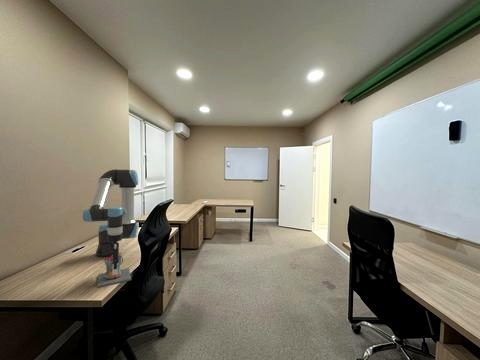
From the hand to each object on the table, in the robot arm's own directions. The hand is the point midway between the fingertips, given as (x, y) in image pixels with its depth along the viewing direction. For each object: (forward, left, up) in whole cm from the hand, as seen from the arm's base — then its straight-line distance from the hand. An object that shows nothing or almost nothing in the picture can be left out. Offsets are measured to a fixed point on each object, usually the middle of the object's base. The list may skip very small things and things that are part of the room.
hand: (114, 269), depth 123 cm
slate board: (0, 0, -5) cm, 5 cm away
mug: (-1, 0, -4) cm, 4 cm away
